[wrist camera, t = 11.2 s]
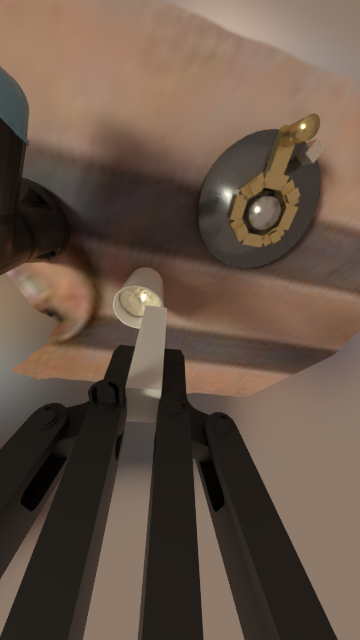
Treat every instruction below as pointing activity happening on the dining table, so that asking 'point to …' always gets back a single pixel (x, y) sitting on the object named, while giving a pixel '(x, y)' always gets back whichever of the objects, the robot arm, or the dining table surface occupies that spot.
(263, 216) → the bearing cap
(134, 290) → the candle holder
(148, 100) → the dining table surface
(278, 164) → the brass lugged wrench
